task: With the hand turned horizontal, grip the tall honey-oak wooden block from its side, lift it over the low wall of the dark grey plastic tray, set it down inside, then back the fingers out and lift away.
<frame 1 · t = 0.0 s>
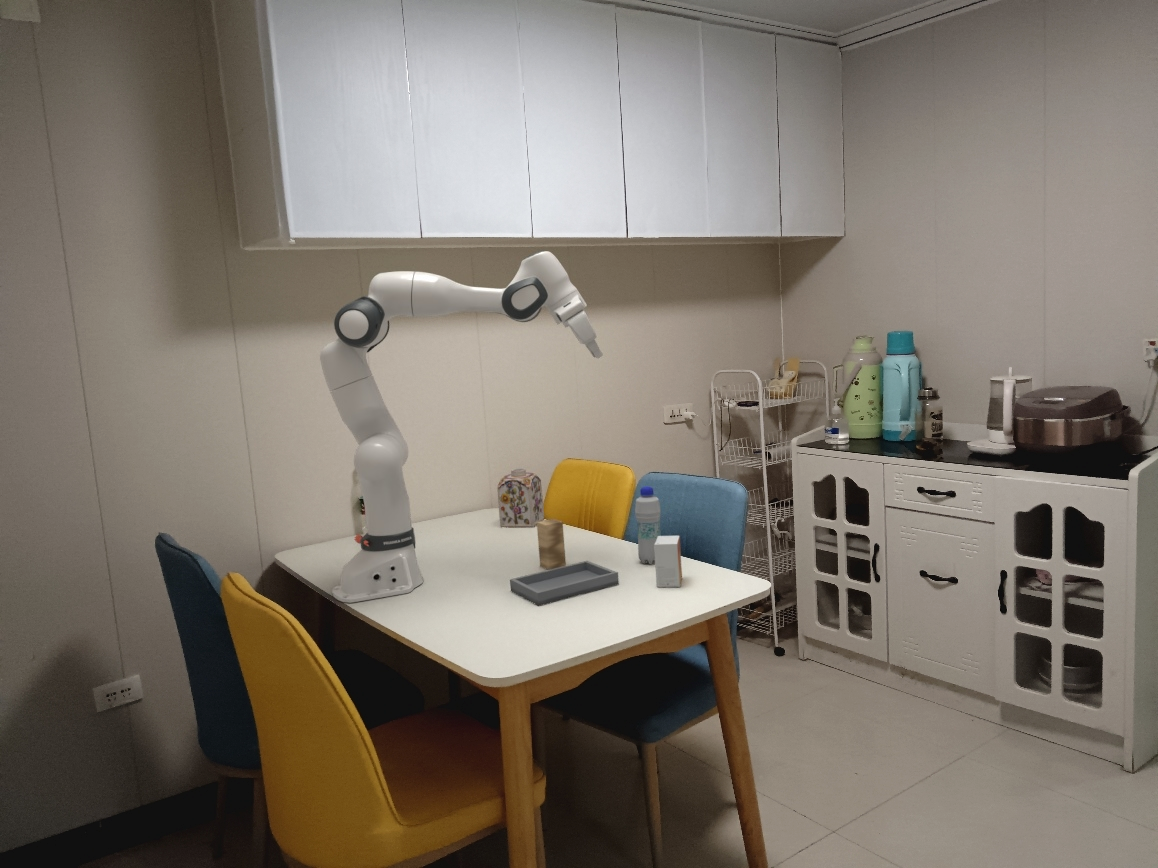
hand: (598, 356, 203), 54 cm above the table, tool tilted 30°, fingers open, 8 cm apart
decorative jar: (522, 524, 266), on the table
bottle: (650, 562, 212), on the table
oak block: (553, 566, 214), on the table
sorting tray: (564, 587, 195), on the table
small box: (669, 583, 194), on the table
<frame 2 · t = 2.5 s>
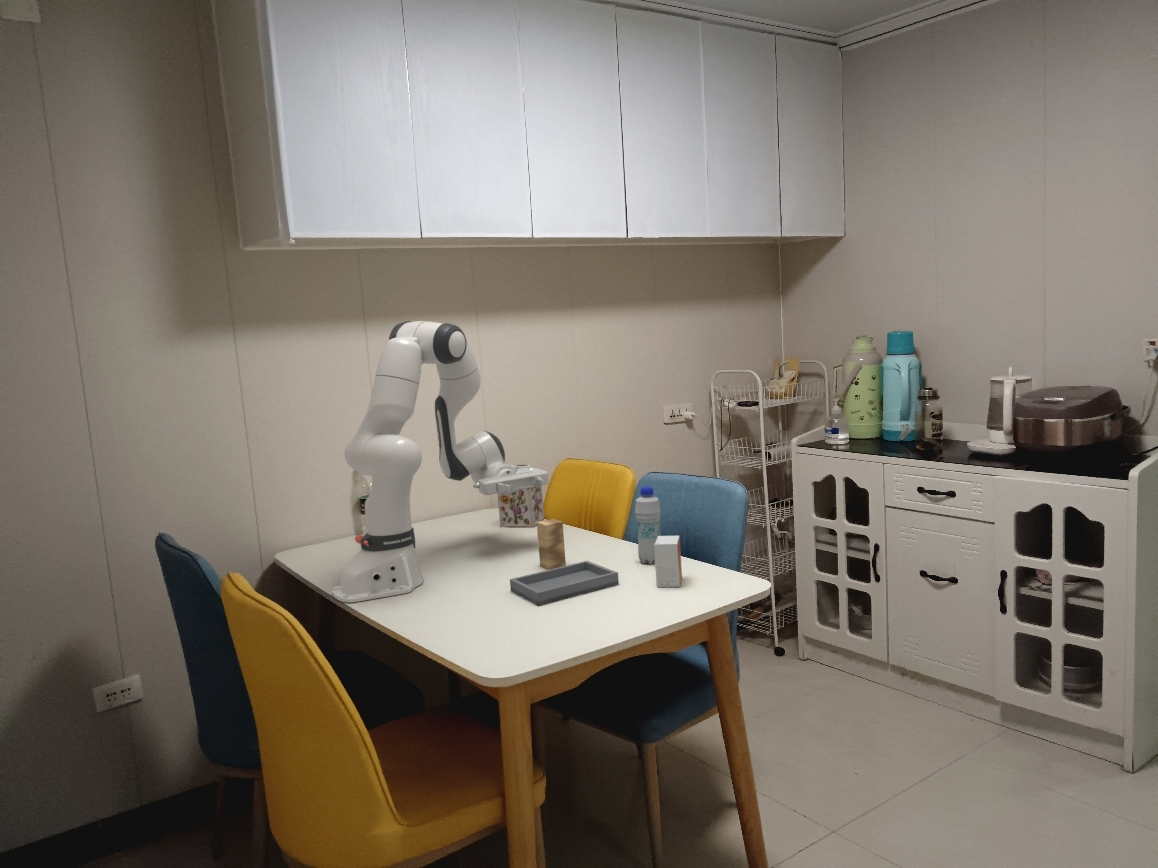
hand: (526, 485, 222), 20 cm above the table, tool horizontal, fingers open, 8 cm apart
nothing on the table moved.
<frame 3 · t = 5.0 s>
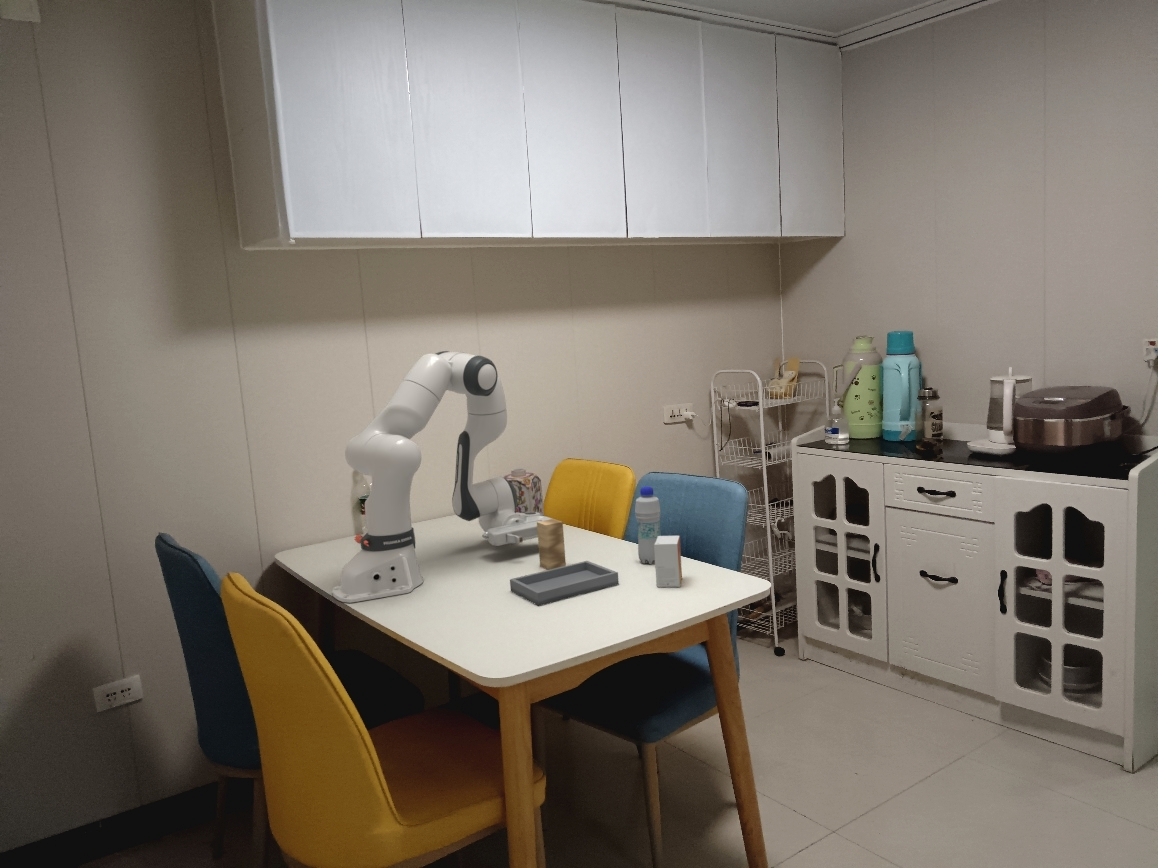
hand: (535, 536, 221), 6 cm above the table, tool horizontal, fingers open, 8 cm apart
nothing on the table moved.
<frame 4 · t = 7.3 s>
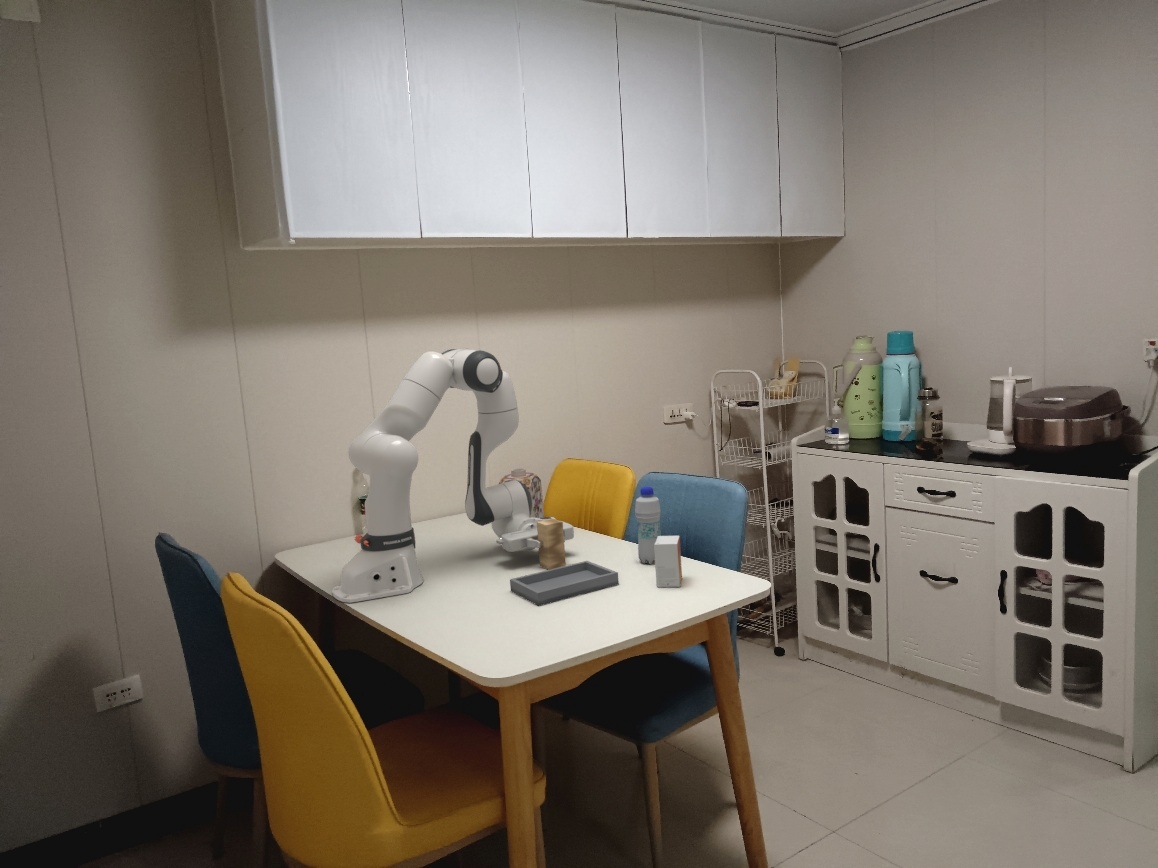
hand: (551, 542, 213), 7 cm above the table, tool horizontal, fingers closed on oak block, 5 cm apart
oak block: (553, 566, 214), on the table, touching gripper
everything else where it was.
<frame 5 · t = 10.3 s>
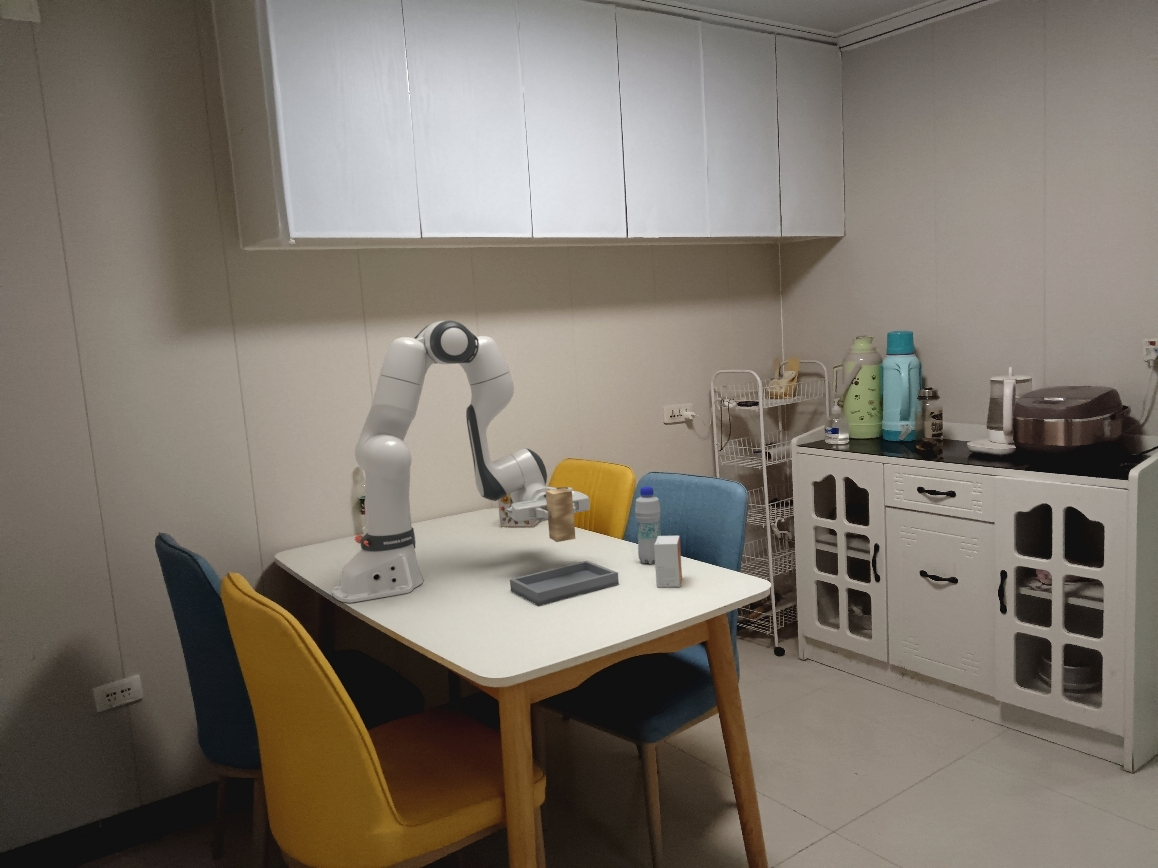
hand: (561, 512, 200), 17 cm above the table, tool horizontal, fingers closed on oak block, 5 cm apart
oak block: (562, 538, 201), point 10 cm above the table, touching gripper
everything else where it was.
when the fingers open (9 cm above the table, at t = 13.3 s): oak block drops 1 cm, resting on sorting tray.
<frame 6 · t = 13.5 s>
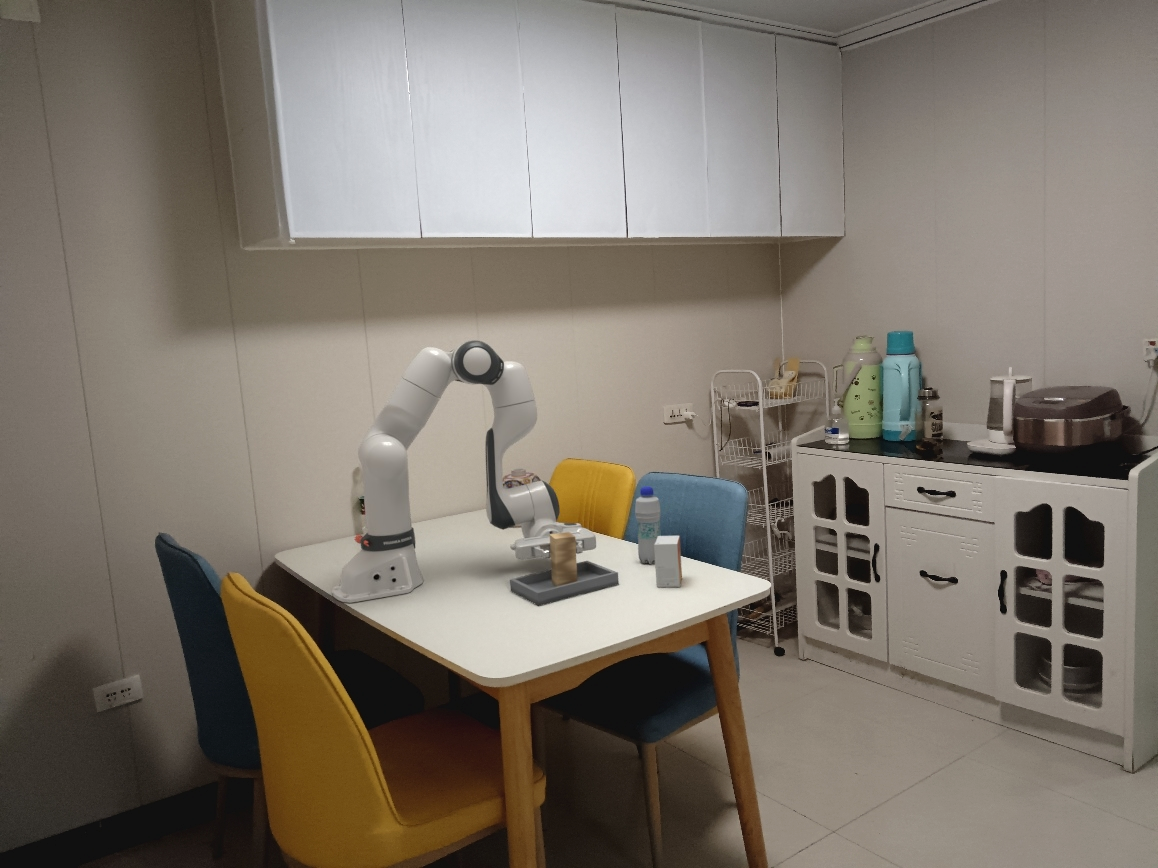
hand: (563, 552, 193), 9 cm above the table, tool horizontal, fingers open, 7 cm apart
oak block: (564, 584, 195), point 1 cm above the table, touching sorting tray
everything else where it was.
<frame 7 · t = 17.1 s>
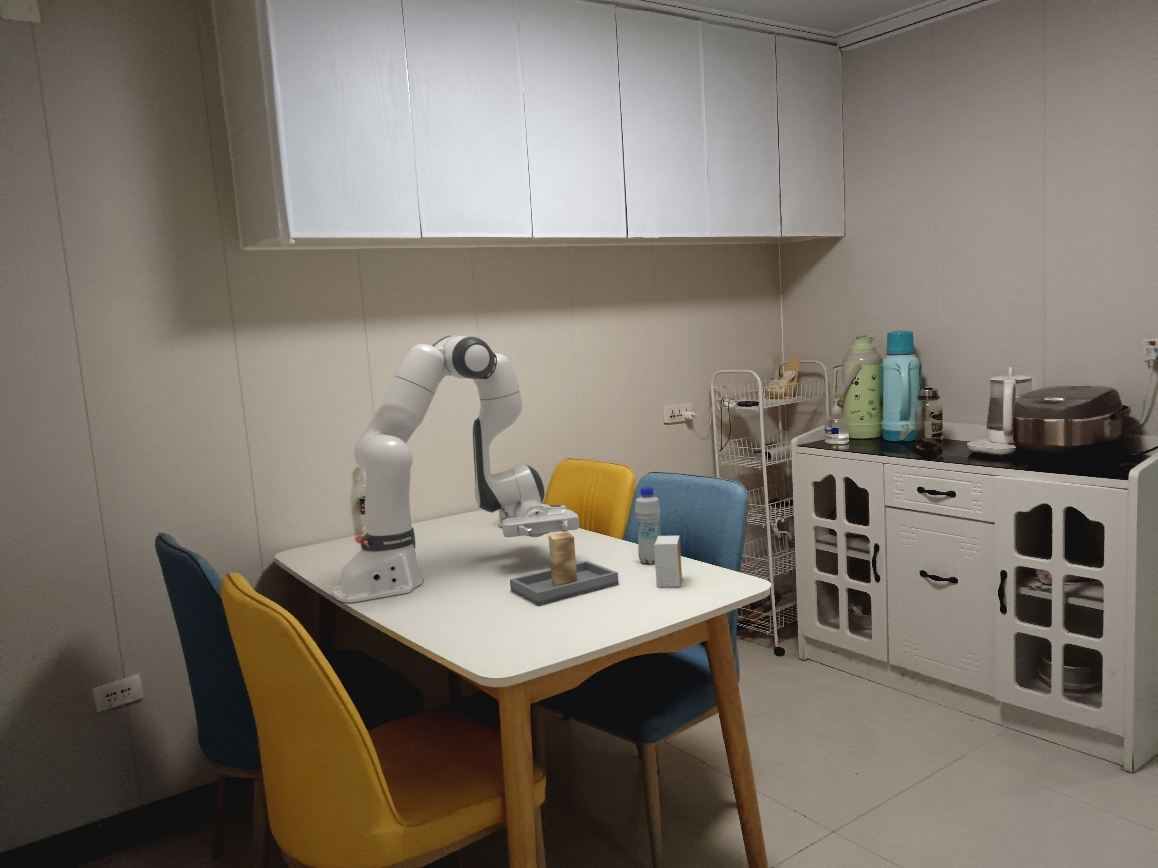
hand: (547, 530, 205), 12 cm above the table, tool horizontal, fingers open, 8 cm apart
nothing on the table moved.
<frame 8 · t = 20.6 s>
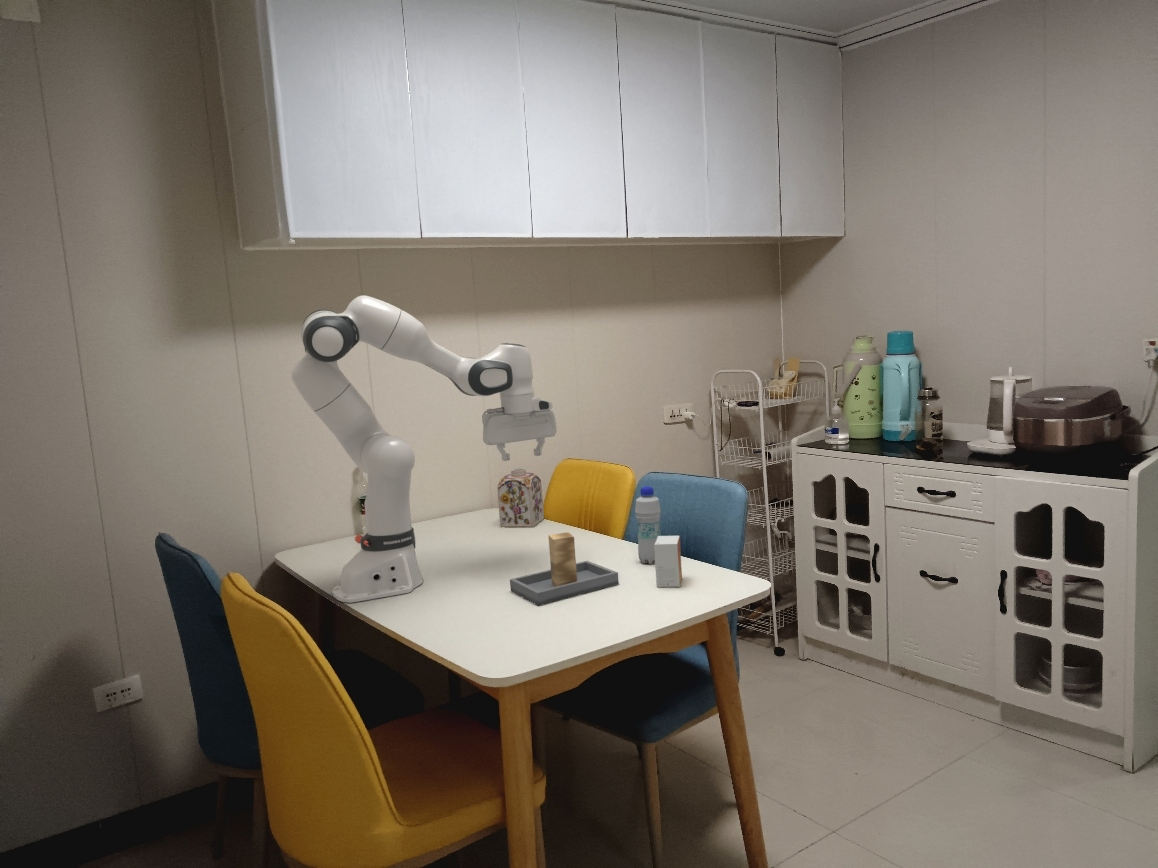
hand: (522, 457, 213), 29 cm above the table, tool pointing down, fingers open, 8 cm apart
nothing on the table moved.
at the end: oak block inside the target area on the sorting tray (0.4 cm from its centre), point 1.0 cm above the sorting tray's base; oak block tilted 0°; the gripper is holding nothing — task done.
